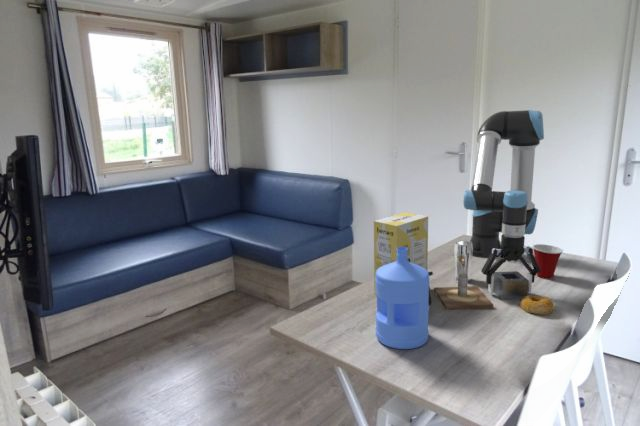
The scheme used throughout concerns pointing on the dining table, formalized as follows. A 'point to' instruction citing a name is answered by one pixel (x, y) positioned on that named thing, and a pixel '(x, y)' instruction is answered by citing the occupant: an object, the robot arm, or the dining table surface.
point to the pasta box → (400, 239)
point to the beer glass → (463, 257)
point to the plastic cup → (546, 259)
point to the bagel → (537, 305)
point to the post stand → (462, 296)
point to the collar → (510, 285)
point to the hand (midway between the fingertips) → (509, 291)
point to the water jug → (402, 303)
